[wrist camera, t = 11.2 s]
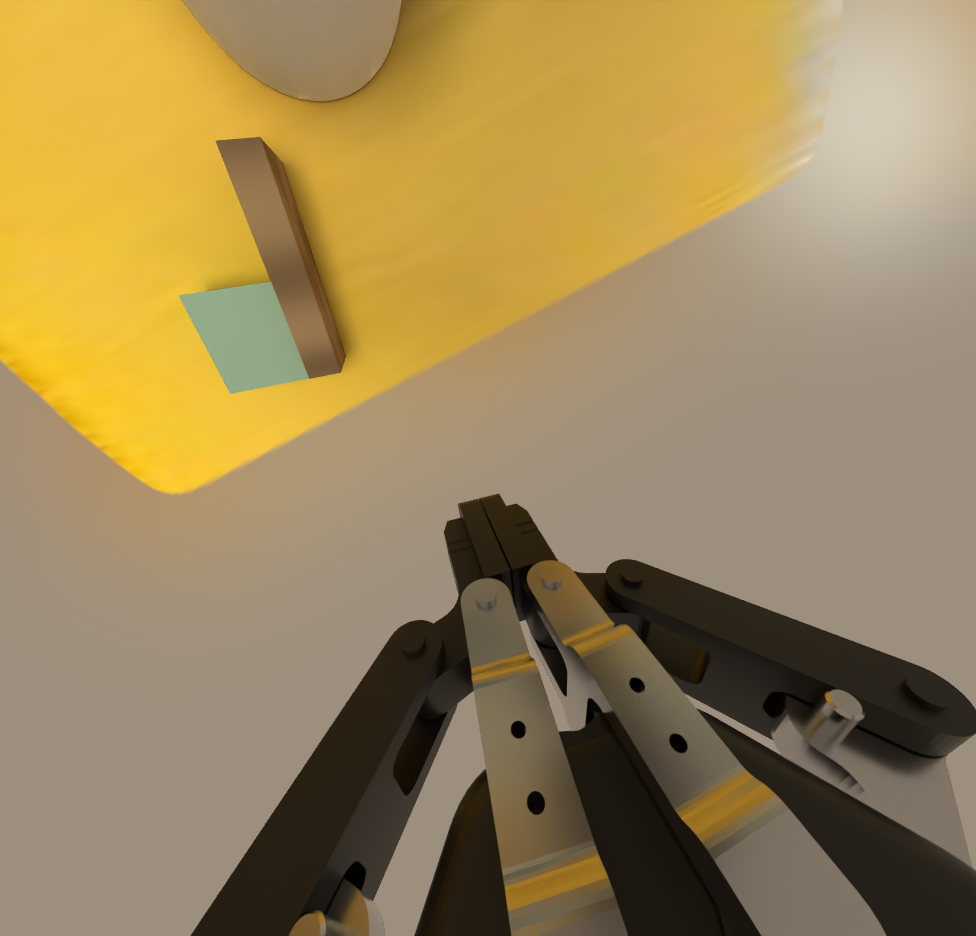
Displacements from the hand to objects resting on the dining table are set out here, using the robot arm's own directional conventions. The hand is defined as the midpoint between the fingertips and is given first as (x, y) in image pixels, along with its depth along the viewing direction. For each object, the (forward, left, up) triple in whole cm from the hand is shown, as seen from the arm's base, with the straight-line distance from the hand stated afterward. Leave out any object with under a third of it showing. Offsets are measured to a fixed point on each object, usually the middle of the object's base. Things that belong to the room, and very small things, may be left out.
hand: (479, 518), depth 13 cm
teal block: (-5, -12, -27) cm, 29 cm away
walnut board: (-8, -7, -26) cm, 28 cm away
